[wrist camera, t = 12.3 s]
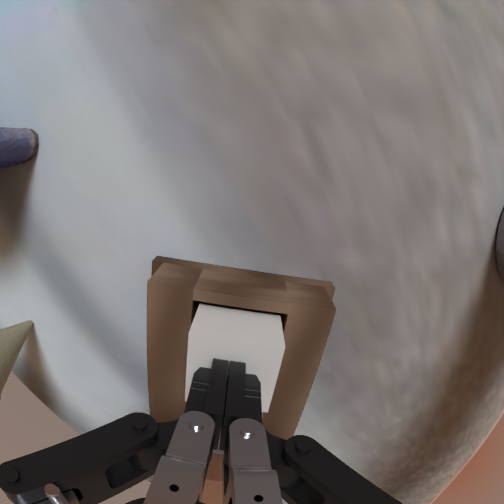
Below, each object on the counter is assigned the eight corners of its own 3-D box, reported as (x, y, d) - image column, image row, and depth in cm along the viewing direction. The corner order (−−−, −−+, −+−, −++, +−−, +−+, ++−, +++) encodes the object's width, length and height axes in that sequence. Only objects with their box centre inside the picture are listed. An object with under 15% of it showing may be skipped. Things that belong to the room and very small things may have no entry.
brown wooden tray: (331, 282, 19) (348, 310, 15) (266, 479, 25) (267, 509, 21) (157, 255, 19) (134, 278, 15) (160, 464, 25) (152, 493, 21)
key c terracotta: (248, 450, 18) (247, 484, 15) (240, 478, 19) (239, 508, 17) (188, 442, 18) (181, 475, 15) (187, 471, 19) (182, 500, 16)
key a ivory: (280, 315, 16) (285, 347, 13) (266, 377, 17) (267, 412, 14) (199, 303, 16) (188, 333, 13) (194, 366, 17) (184, 401, 14)
